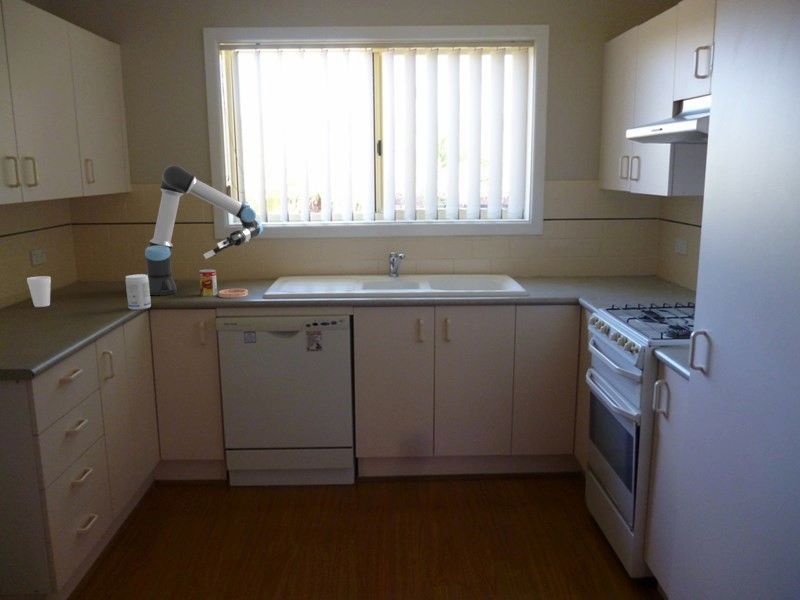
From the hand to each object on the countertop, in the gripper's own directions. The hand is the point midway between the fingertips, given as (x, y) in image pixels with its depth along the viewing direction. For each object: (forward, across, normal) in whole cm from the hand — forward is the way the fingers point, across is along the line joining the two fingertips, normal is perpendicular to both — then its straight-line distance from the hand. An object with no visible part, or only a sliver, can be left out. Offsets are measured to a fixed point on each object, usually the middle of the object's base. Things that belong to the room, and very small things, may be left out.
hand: (211, 251), depth 329 cm
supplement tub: (+49, +3, -8) cm, 50 cm away
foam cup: (+66, +42, +18) cm, 80 cm away
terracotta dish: (+8, -6, -24) cm, 26 cm away
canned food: (+12, +5, -18) cm, 22 cm away
